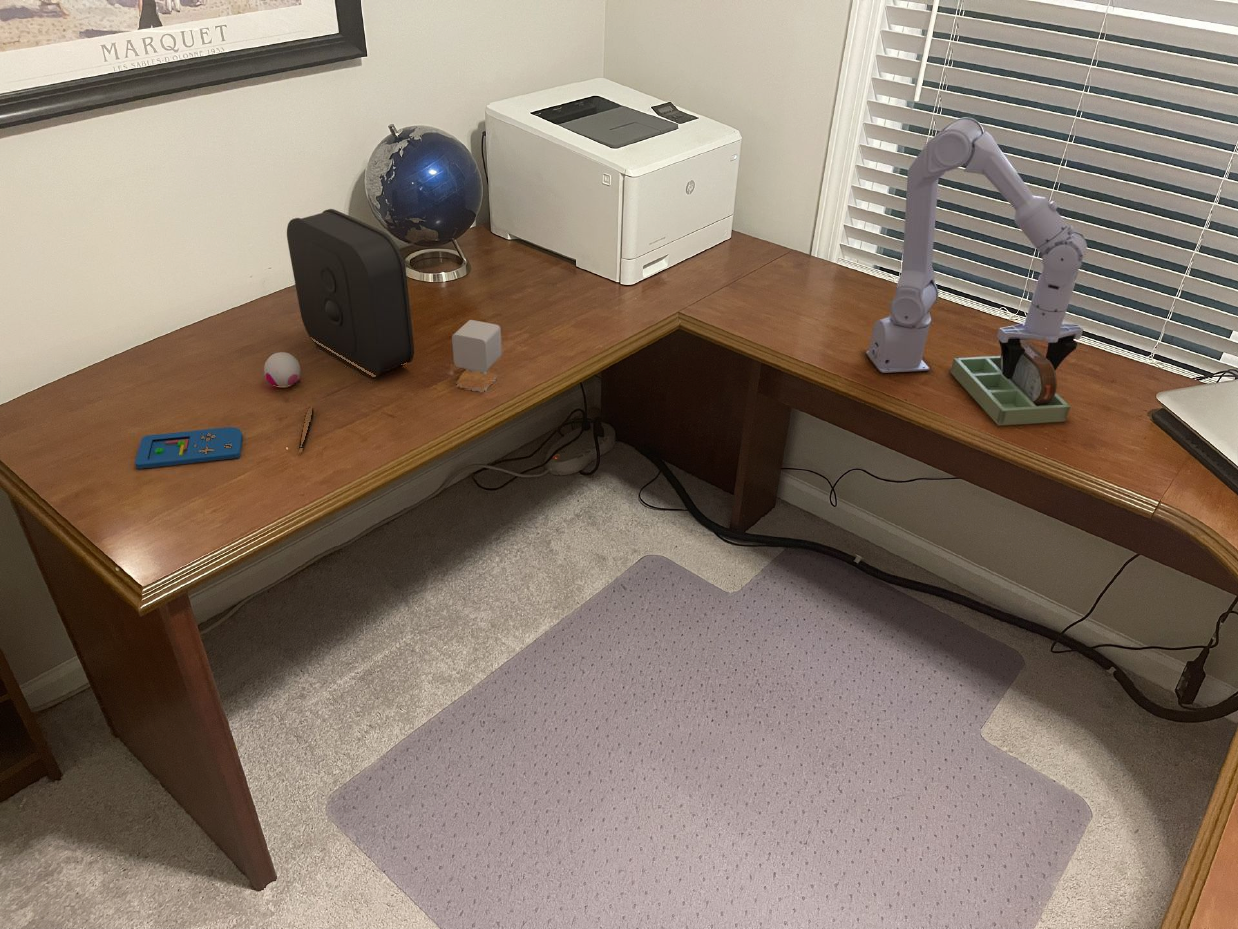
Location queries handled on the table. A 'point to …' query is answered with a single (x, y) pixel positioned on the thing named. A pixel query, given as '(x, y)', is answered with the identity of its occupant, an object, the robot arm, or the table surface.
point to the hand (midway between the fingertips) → (1026, 375)
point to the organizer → (1003, 394)
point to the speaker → (352, 290)
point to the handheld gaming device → (188, 447)
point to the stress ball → (282, 369)
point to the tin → (1034, 375)
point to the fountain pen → (306, 434)
